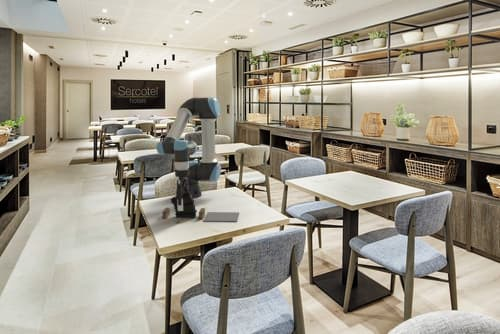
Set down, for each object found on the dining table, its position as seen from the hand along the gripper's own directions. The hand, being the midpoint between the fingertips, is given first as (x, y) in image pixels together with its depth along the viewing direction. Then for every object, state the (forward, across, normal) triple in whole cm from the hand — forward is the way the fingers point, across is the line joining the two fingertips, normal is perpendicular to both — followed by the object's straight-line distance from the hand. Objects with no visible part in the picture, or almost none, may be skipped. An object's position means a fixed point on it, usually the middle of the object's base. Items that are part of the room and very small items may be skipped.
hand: (183, 206), depth 191 cm
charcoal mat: (+6, 0, +21) cm, 22 cm away
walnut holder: (+6, 0, 0) cm, 6 cm away
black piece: (+6, 0, 0) cm, 6 cm away
